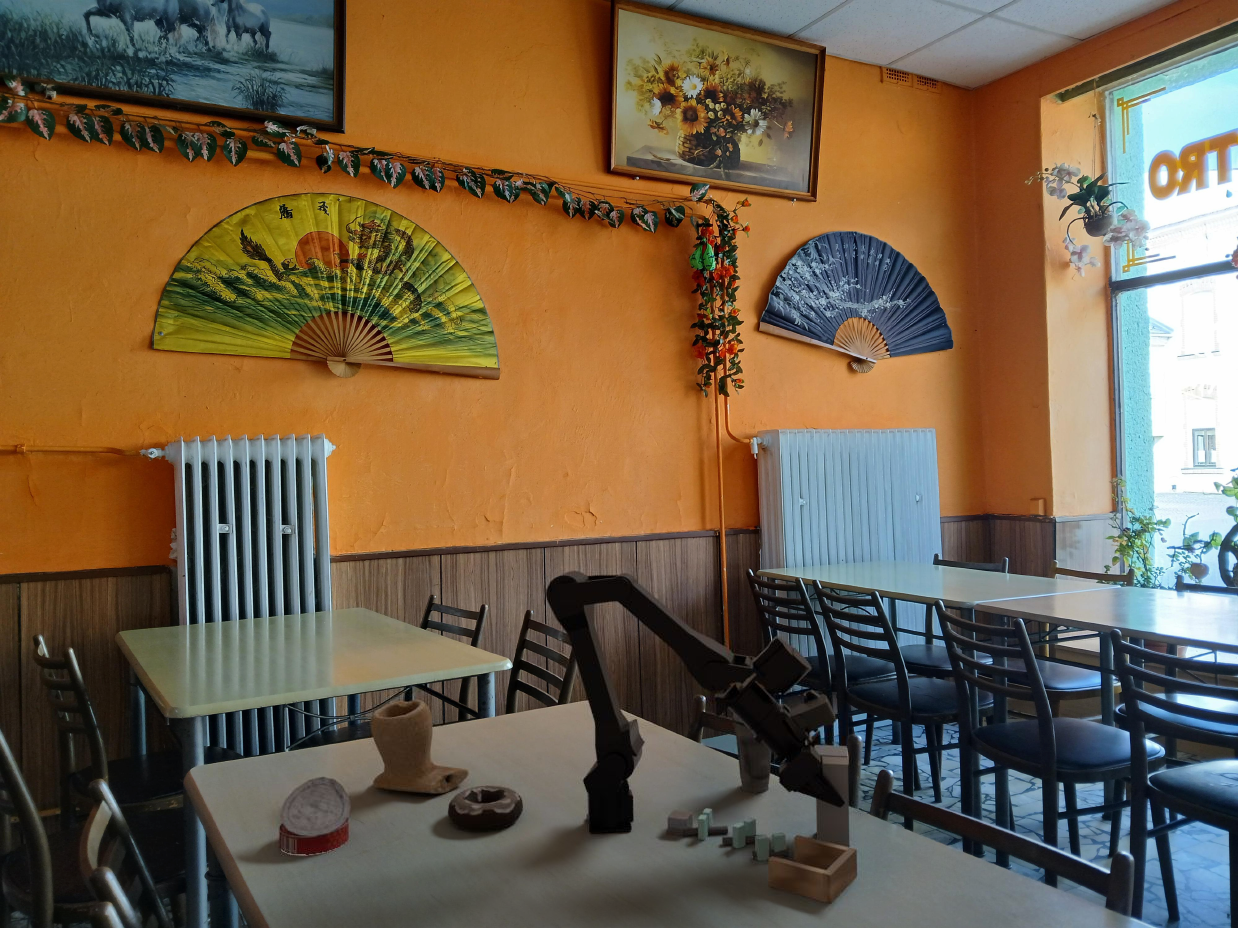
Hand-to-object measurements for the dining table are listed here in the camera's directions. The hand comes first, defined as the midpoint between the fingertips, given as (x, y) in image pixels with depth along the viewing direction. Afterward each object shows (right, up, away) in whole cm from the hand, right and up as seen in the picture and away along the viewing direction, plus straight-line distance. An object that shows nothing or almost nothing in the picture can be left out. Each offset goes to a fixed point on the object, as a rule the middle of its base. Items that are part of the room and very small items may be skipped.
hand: (841, 793), depth 130 cm
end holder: (-7, -7, -12) cm, 16 cm away
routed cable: (-16, -7, -1) cm, 17 cm away
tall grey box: (-1, -7, 0) cm, 7 cm away
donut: (-53, -8, +10) cm, 55 cm away
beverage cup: (-9, -7, +22) cm, 25 cm away
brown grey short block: (-23, -7, +4) cm, 25 cm away
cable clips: (-15, -7, -1) cm, 17 cm away
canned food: (-78, -9, +3) cm, 78 cm away
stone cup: (-68, -8, +24) cm, 72 cm away
